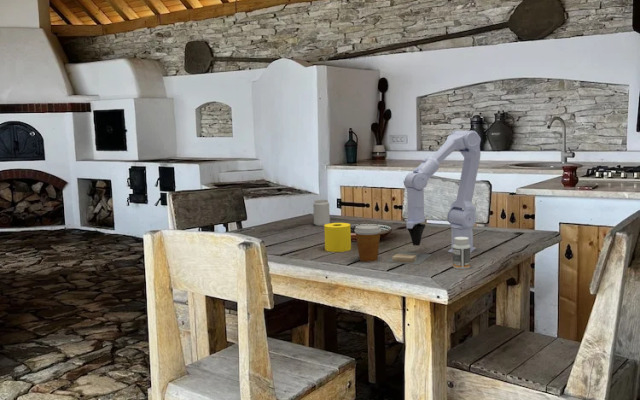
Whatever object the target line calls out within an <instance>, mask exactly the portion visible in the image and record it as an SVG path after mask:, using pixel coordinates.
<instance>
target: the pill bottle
mask: <svg viewBox="0 0 640 400" xmlns="http://www.w3.org/2000/svg"><path fill="white" fill-rule="evenodd" d="M454 242H455V244H454V245H453V252H452V267H453V268H454V269H458V270H459V269H460V270H467V269H470V268H471V265H472V264H471V253H470V245H469V244H468V242H469V238H468V237H455V238H454Z"/></svg>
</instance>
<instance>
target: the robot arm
mask: <svg viewBox="0 0 640 400" xmlns="http://www.w3.org/2000/svg"><path fill="white" fill-rule="evenodd" d="M481 142H482V139H481V137H480V135H479V134H478V133H477V131H475V130H457V129H456V130H454V131H452V132H451V133H450V134H449V135H448V136H447V138H446V141H444V143H443V144H442V145H441V146H440V147H439V148H438V149H437V150H436V152H435V153H434V154H433V155H432V157H426V158H423V159H422V160H421V163H420V164H419V165H418V166H417V167H416V168H413V172H409V173H408V174H406V176H405V177H404V180H403V186H404V187H405V189H406V196H407V197H406V199H407V218H404V222H406V229H407V231H408V232H409V235H410V237H411V242H412V245H413V246H417V247H418V246H420V245H421V242H422V237H423V232H424V230H425V228H426V224H424V223H425V222H426V216H425V199H424V198H425V190H424V189H425V188H427V184H428V182H429V180H430V178H432V176H434V174H436V172H437V171H438V170H439V168H440V164H441V162H443V161H444V160H445V159H447V158H448V157H449V156H450V155H451V154H452V153H453V152H454V151H458V152H459V153H460V154H461V155H462V156H463V163H462V169H461V174H460V180H459V185H458V190H457V196H456V200H455V201H453V203H451V204H450V209H449V210H448V212H447V214H446V219H447V221H448V223H449V224H450V228H451V230H450V231H451V233H450V234H451V240H450V241H451V242H450V243H451V244H450V245H451V248H450V249H449V250H448V251H447V252H448V253H453V245H454V244H455V242H454V238H455V237H468V238H469V242H468V244H469V245H470V254H471V253H472V252H473V251H475V250H476V248H477V247H475V246H474V240H473V239H474V232H473V228H474V227H473V226H475V223H476V222H477V221H476V220H477V215H476V207H475V206H474V204H473V199H474V198H473V197H474V194H475V193H474V192H475V187H476V181H477V176H478V170H479V166H480V161H481V155H482V154H481V147H480V146H481Z"/></svg>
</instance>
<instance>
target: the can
mask: <svg viewBox="0 0 640 400" xmlns="http://www.w3.org/2000/svg"><path fill="white" fill-rule="evenodd" d="M312 209H313V224H314V225H315V226H316V227H324V225H325V224H330V223H331V219H330V218H331V216H330V202H328V199H315V200H314V202H313V206H312Z"/></svg>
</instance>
